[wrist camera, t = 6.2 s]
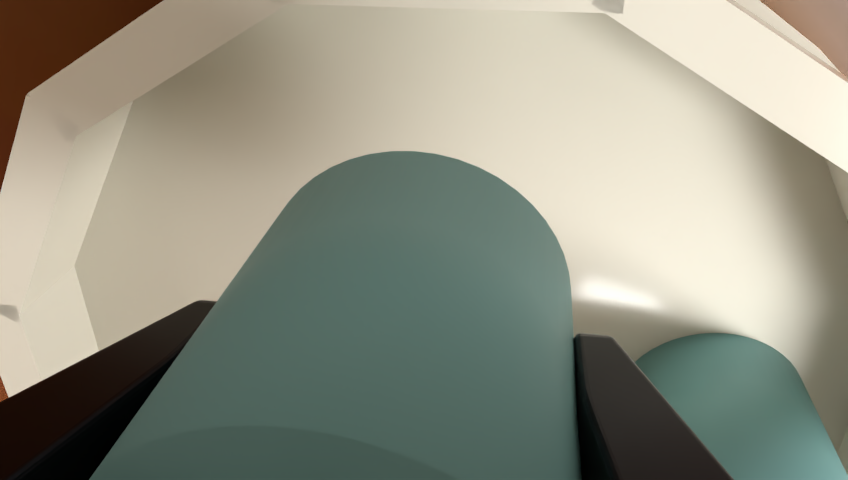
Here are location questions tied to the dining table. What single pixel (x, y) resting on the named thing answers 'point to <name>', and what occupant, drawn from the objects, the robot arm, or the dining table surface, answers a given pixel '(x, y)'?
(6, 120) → the dining table surface
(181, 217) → the groove tray
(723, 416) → the bead seated
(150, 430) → the bead
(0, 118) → the dining table surface
